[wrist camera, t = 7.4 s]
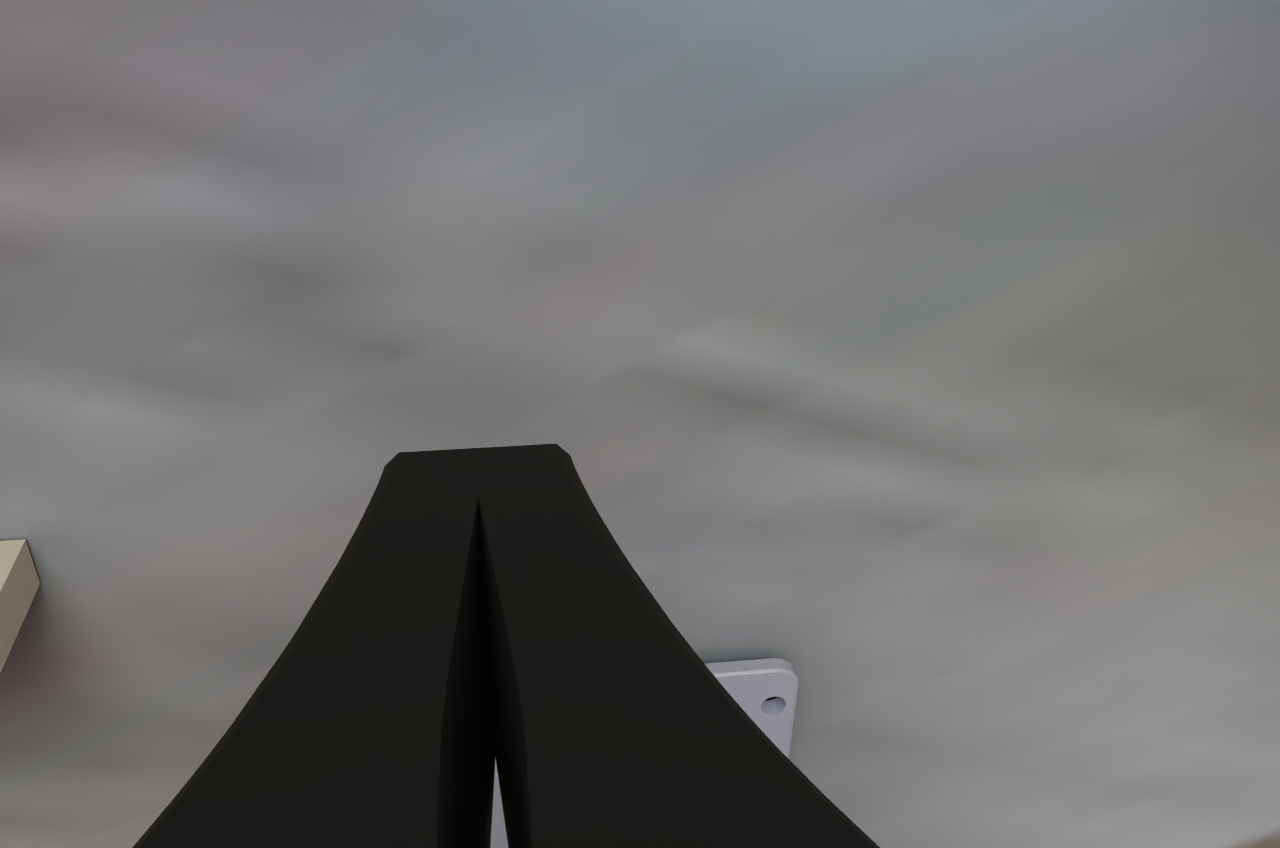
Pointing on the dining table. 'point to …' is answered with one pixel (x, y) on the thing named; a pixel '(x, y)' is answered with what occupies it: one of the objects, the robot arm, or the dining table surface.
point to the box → (14, 591)
